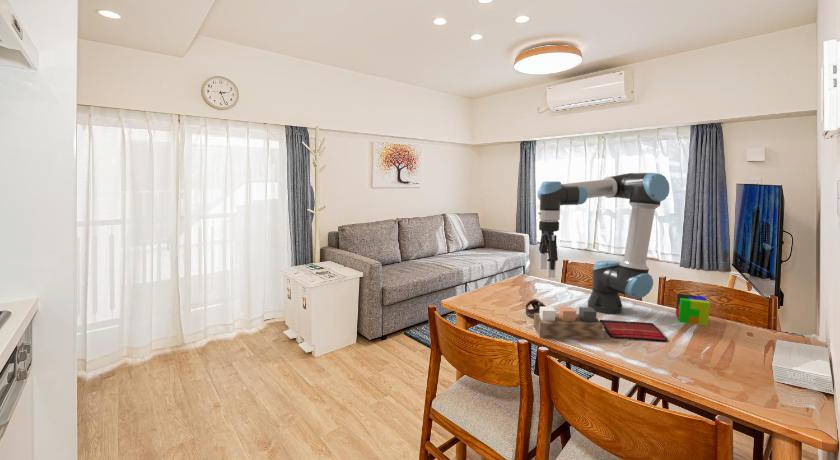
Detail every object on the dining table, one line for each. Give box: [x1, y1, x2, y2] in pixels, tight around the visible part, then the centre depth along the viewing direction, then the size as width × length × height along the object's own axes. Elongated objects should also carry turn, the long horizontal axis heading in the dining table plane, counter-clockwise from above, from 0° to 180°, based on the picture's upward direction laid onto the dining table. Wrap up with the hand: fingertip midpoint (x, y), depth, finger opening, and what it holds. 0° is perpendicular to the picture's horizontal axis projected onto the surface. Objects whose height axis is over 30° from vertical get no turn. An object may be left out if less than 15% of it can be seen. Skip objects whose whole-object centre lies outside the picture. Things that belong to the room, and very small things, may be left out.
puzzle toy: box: [675, 293, 711, 327], centre depth 168 cm, size 10×10×10 cm
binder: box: [599, 319, 668, 343], centre depth 156 cm, size 16×2×21 cm
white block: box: [539, 306, 556, 321], centre depth 156 cm, size 5×5×6 cm
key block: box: [533, 313, 604, 340], centre depth 156 cm, size 24×11×6 cm, turn 86°
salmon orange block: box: [558, 306, 577, 321], centre depth 155 cm, size 5×5×6 cm
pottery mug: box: [525, 298, 547, 316], centre depth 176 cm, size 12×10×8 cm
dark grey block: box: [578, 306, 598, 322], centre depth 154 cm, size 5×5×6 cm
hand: (546, 273), depth 154 cm, fingers open, 13 cm apart
